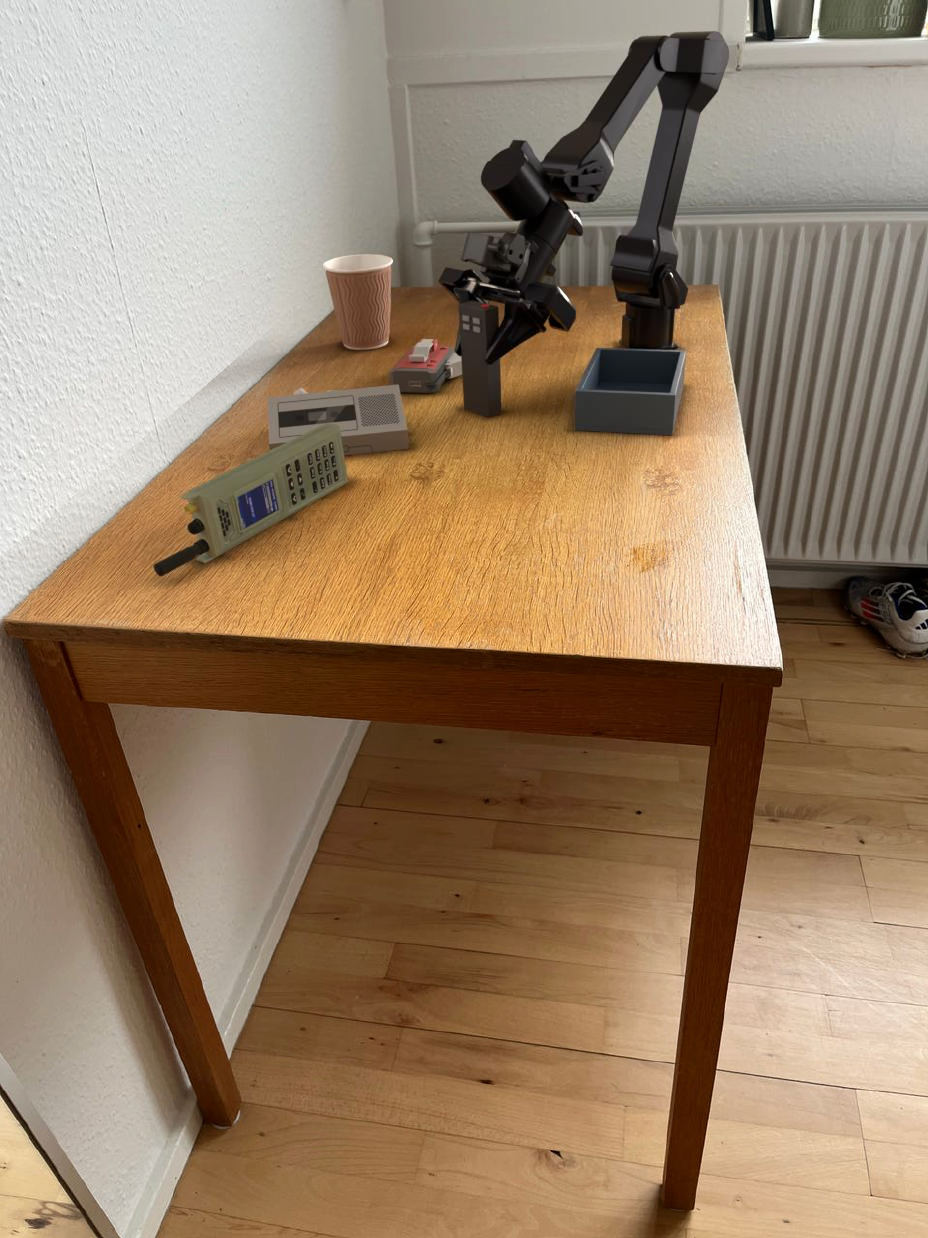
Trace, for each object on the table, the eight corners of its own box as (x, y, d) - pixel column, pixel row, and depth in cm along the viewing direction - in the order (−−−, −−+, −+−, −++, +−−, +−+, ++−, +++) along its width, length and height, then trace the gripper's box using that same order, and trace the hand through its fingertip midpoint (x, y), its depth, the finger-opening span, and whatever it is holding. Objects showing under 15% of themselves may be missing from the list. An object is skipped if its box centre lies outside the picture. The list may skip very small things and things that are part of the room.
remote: (476, 404, 121) (471, 298, 114) (501, 412, 118) (498, 304, 111) (462, 409, 120) (456, 302, 113) (488, 418, 117) (483, 309, 110)
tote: (595, 383, 126) (596, 347, 123) (683, 387, 123) (686, 350, 120) (574, 430, 112) (574, 390, 110) (672, 435, 110) (675, 395, 107)
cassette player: (268, 443, 107) (267, 392, 113) (272, 462, 109) (270, 411, 115) (407, 429, 108) (397, 379, 115) (408, 448, 110) (399, 398, 117)
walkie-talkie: (450, 397, 124) (482, 350, 140) (448, 364, 121) (480, 320, 138) (385, 396, 126) (424, 349, 142) (382, 363, 123) (422, 319, 140)
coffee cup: (412, 338, 147) (406, 256, 141) (372, 357, 140) (363, 272, 133) (360, 330, 152) (351, 251, 145) (318, 348, 145) (307, 266, 138)
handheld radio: (353, 484, 103) (173, 587, 86) (331, 479, 104) (149, 579, 88) (344, 425, 99) (154, 520, 82) (321, 421, 101) (130, 513, 84)
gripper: (444, 194, 115) (382, 308, 114) (560, 209, 103) (490, 336, 103) (493, 251, 123) (435, 356, 123) (605, 271, 111) (541, 387, 111)
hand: (472, 358), depth 115 cm, fingers open, 5 cm apart
